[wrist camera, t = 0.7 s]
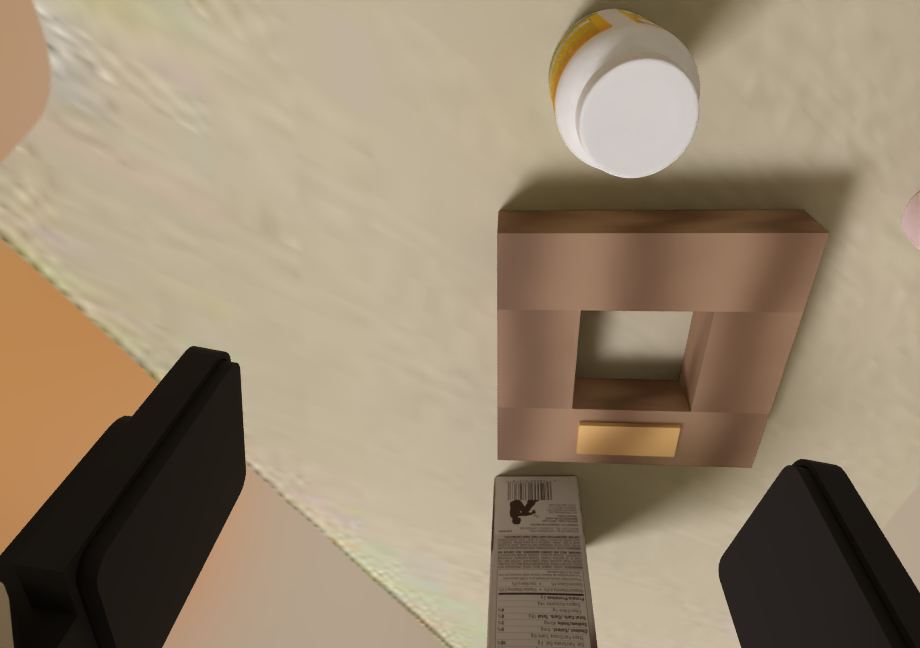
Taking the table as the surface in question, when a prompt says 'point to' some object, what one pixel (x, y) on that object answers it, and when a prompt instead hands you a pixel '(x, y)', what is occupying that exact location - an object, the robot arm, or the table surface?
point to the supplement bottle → (624, 93)
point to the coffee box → (539, 566)
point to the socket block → (648, 289)
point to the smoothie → (912, 220)
